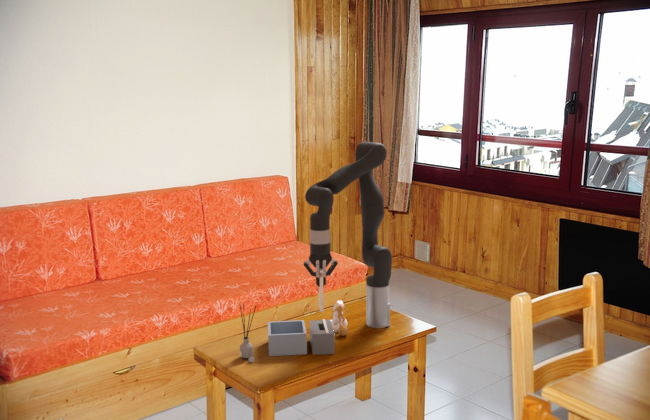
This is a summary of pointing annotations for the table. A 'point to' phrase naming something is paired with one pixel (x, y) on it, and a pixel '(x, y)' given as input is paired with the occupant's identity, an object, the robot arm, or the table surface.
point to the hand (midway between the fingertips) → (320, 286)
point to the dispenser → (321, 337)
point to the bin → (287, 338)
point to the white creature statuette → (335, 318)
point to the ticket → (321, 291)
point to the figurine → (342, 329)
